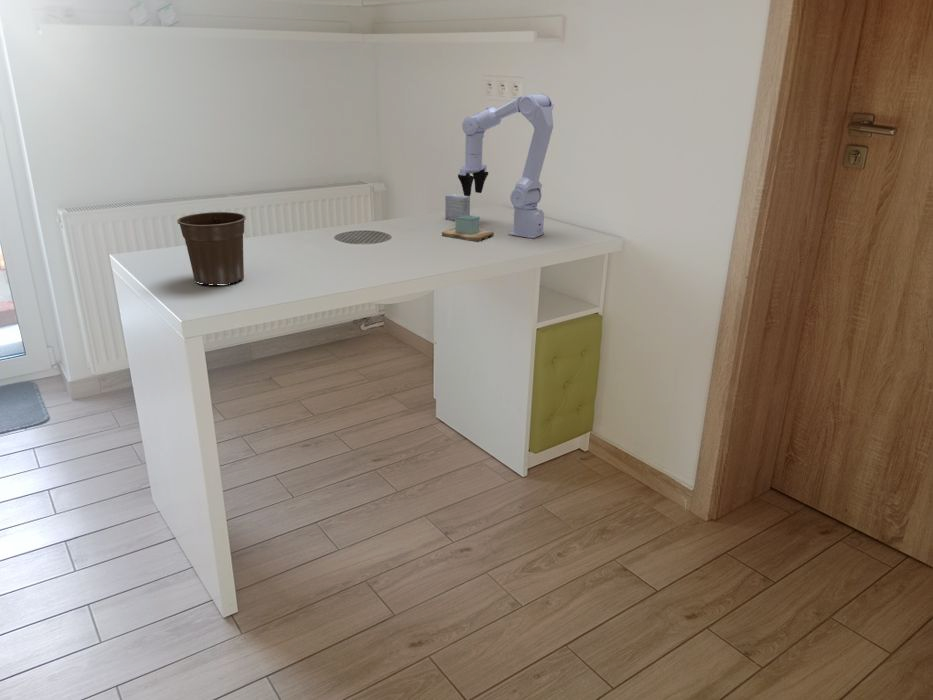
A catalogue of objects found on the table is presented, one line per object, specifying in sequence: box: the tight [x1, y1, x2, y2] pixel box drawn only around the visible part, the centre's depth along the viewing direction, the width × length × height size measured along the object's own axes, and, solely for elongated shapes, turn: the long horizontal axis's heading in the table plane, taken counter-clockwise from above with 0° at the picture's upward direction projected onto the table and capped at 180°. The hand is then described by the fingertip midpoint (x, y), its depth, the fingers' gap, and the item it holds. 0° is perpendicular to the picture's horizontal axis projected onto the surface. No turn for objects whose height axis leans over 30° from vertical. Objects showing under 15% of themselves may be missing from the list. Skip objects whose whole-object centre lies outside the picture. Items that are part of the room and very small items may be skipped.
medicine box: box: [444, 193, 471, 222], centre depth 254 cm, size 8×4×9 cm, turn 58°
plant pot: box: [177, 211, 247, 285], centre depth 180 cm, size 16×16×16 cm
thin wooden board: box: [441, 227, 495, 242], centre depth 233 cm, size 14×10×1 cm
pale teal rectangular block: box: [455, 214, 480, 235], centre depth 232 cm, size 6×5×5 cm
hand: (472, 194), depth 245 cm, fingers open, 7 cm apart
